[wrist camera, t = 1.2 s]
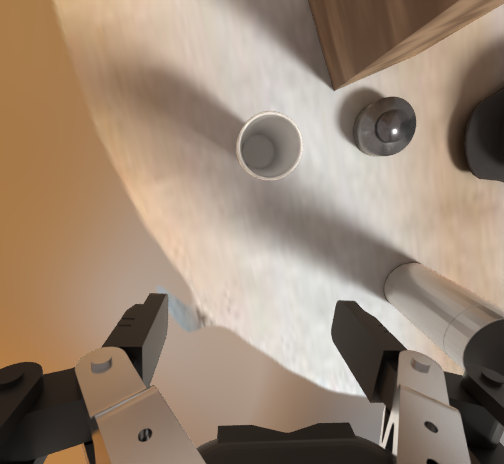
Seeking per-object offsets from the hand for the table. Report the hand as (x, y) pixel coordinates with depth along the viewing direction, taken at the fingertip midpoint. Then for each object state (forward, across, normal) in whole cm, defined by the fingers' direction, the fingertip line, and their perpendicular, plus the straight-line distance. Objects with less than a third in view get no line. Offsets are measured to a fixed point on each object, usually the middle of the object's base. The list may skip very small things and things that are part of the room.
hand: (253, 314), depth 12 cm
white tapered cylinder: (+31, -3, -9) cm, 33 cm away
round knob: (+30, -22, -14) cm, 40 cm away
